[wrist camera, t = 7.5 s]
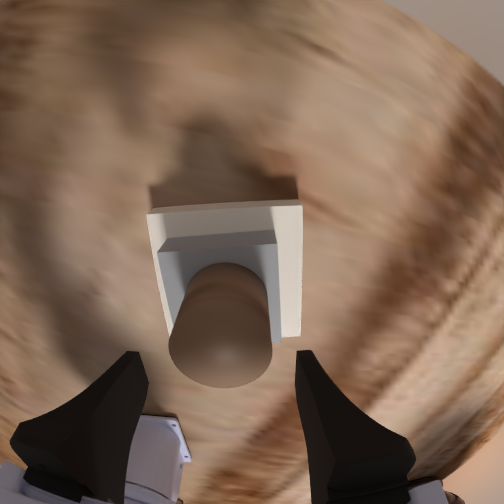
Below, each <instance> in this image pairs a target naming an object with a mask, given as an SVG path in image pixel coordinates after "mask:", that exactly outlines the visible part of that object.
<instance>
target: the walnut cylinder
mask: <svg viewBox="0 0 504 504" xmlns="http://www.w3.org/2000/svg"><path fill="white" fill-rule="evenodd" d="M169 353H170V356H171V359H172V360H173V362H174V364H175V365H176V367H177V368H178V369H179V370H180V371H181V372H182V373H183V374H184V375H186V376H187V377H189V378H190V379H192V380H194V381H196V382H198V383H200V384H203V385H206V386H210V387H216V388H233V387H239V386H242V385H245V384H248V383H250V382H252V381H254V380H256V379H257V378H259V377H260V376H261V375H262V374H263V373H264V372H265V371H266V370H267V368H268V366H269V364H270V362H271V359H272V340H271V329H270V317H269V306H268V295H267V290H266V287H265V285H264V283H263V282H262V280H261V279H260V278H259V277H258V275H256V274H255V273H254V272H253V271H251V270H250V269H248V268H246V267H244V266H242V265H239V264H235V263H228V262H224V263H215V264H211V265H209V266H206V267H204V268H202V269H201V270H200V271H198V272H197V273H196V274H195V275H194V276H193V277H192V279H191V280H190V282H189V284H188V287H187V290H186V292H185V295H184V298H183V301H182V303H181V306H180V309H179V312H178V315H177V317H176V320H175V323H174V326H173V329H172V332H171V335H170V338H169Z"/></svg>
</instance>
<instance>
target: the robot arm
mask: <svg viewBox="0 0 504 504" xmlns="http://www.w3.org/2000/svg"><path fill="white" fill-rule="evenodd" d="M148 385H149V382H148V379H147V376H146V373H145V370H144V367H143V363H142V360H141V357H140V354H139V352H133V351H127V352H126V353H125V354H124V355H122V356H121V357H120V358H119V359H118V360H117V361H116V362H115V363H114V364H113V365H112V366H111V367H110V368H109V369H108V370H107V371H106V372H105V373H104V374H103V375H102V376H101V377H99V378H98V379H97V380H96V381H95V382H94V383H92V384H91V385H90V386H89V387H88V388H87V389H85V390H84V391H83V392H81V393H80V394H79V395H77V396H76V397H74V398H73V399H71V400H70V401H68V402H67V403H65V404H63V405H61V406H60V407H58V408H56V409H54V410H52V411H50V412H48V413H46V414H44V415H41V416H39V417H36V418H33V419H30V420H27V421H24V422H21V423H20V424H19V425H18V427H17V429H16V430H15V432H14V434H13V436H12V438H11V439H10V445H11V447H12V449H13V450H14V451H15V453H16V454H17V455H18V456H19V457H20V458H21V459H22V460H23V462H24V463H25V464H26V465H27V466H28V468H27V470H26V471H25V470H24V469H23V468H21V467H19V466H17V465H14V464H12V463H10V462H8V461H4V463H3V465H2V467H1V469H0V504H175V503H176V501H177V499H178V496H179V490H180V483H181V477H182V471H183V465H184V462H191V461H192V458H191V455H190V452H189V450H188V447H187V444H186V442H185V439H184V436H183V433H182V430H181V428H180V425H179V422H178V420H177V419H176V418H171V417H159V416H148V415H141V413H142V410H143V407H144V404H145V400H146V395H147V390H148ZM295 389H296V399H297V405H298V409H299V414H300V418H301V423H302V427H303V431H304V436H305V440H306V446H307V454H308V464H309V474H310V487H311V502H312V504H448V501H447V498H446V495H445V493H444V490H443V488H442V485H441V482H440V480H436V481H433V482H430V483H427V484H424V485H421V486H418V487H415V488H413V489H411V490H409V491H408V489H407V486H406V485H408V479H407V476H406V475H407V474H408V473H409V471H410V470H411V468H412V467H413V465H414V463H415V461H416V456H415V454H414V451H413V449H412V447H411V445H410V443H409V442H408V440H407V438H405V437H403V436H401V435H399V434H397V433H395V432H393V431H391V430H389V429H387V428H385V427H384V426H382V425H380V424H379V423H377V422H376V421H375V420H373V419H372V418H370V417H369V416H368V415H366V414H365V413H364V412H362V411H361V410H360V409H359V408H358V407H357V406H355V405H354V404H353V403H352V402H351V401H350V400H349V399H348V398H347V397H346V396H345V395H344V394H343V393H342V392H341V391H340V389H339V388H338V387H337V386H336V385H335V384H334V382H333V381H332V380H331V379H330V377H329V376H328V375H327V373H326V372H325V371H324V369H323V368H322V366H321V365H320V363H319V362H318V360H317V359H316V357H315V355H314V353H313V352H312V351H311V350H302V351H297V355H296V373H295Z"/></svg>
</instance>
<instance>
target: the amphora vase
mask: <svg viewBox="0 0 504 504" xmlns="http://www.w3.org/2000/svg"><path fill="white" fill-rule="evenodd" d="M436 480H440V482H441V485H442V486H443V482H442V480H441V479H440V478H436V477H430V478H423V479H419V480H416V481H412V482H409V483H408V485H406V486H407V489H408V491H409V490H411V489H413V488H415V487H418V486H421V485H424V484H427V483H430V482H433V481H436ZM444 493H445V495H446V498H447V501H448V504H465V502H464V501H463V500H462V499H461V498H460V497H459V496H457V495H455V494H453V493H451V492H447V491H444Z"/></svg>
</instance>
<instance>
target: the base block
mask: <svg viewBox="0 0 504 504" xmlns="http://www.w3.org/2000/svg"><path fill="white" fill-rule="evenodd" d="M146 216H147V223H148V229H149V235H150V242H151V248H152V253H153V259H154V265H155V270H156V275H157V281H158V286H159V291H160V296H161V300H162V305H163V310H164V314H165V319H166V323H167V328H168V332H169V336H170V335H171V332H172V329H173V323H172V319H171V315H170V311H169V306H168V302H167V298H166V293H165V289H164V284H163V280H162V275H161V270H160V266H159V261H158V256H157V252H158V250H159V249H160V247H161V246H162V245H163V243H164V242H165V240H166V239H167V238H175V237H187V236H199V235H211V234H223V233H236V232H249V231H263V230H275V235H276V239H277V246H278V266H279V287H280V310H281V336H282V337H293V336H300V332H301V302H302V239H303V215H302V204H301V202H300V201H299V199H291V200H266V201H245V202H227V203H211V204H197V205H183V206H170V207H158V208H153V209H152V210H151V211H150V212H149V213H147V214H146Z"/></svg>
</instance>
